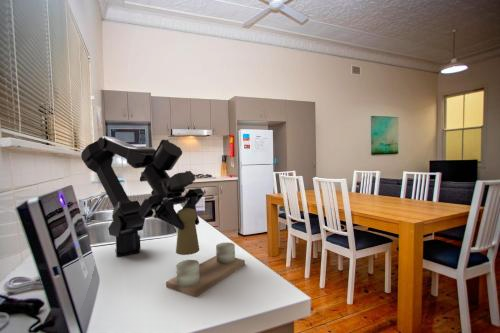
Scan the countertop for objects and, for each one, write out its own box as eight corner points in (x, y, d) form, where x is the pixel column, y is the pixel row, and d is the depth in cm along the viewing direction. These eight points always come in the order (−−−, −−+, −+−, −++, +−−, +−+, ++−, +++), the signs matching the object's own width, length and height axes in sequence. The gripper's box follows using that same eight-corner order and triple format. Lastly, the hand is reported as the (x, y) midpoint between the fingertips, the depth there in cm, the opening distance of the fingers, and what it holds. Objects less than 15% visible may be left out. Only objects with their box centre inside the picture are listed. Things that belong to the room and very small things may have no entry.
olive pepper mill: (201, 246, 72) (200, 206, 71) (196, 254, 66) (195, 211, 65) (179, 246, 72) (178, 206, 72) (172, 255, 66) (171, 211, 65)
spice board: (166, 286, 60) (165, 264, 59) (218, 258, 76) (218, 240, 75) (195, 297, 55) (194, 272, 55) (244, 264, 71) (244, 245, 71)
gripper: (143, 162, 62) (178, 213, 57) (198, 160, 78) (229, 200, 73) (125, 194, 66) (155, 244, 61) (180, 186, 82) (208, 225, 77)
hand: (190, 226), depth 68 cm, fingers closed on olive pepper mill, 5 cm apart
